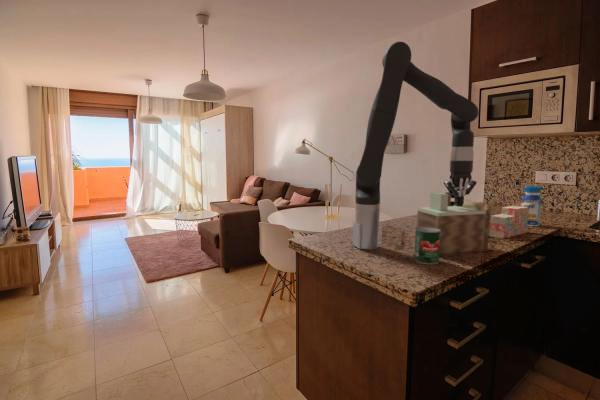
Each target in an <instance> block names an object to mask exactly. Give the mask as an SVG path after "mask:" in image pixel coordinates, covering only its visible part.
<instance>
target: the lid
mask: <svg viewBox="0 0 600 400" xmlns="http://www.w3.org/2000/svg"><path fill="white" fill-rule="evenodd" d="M418 211H420V212H424V213H428V214H431V215H435V216H453V215H472V214H486V210H483V211H480V210H475V209H470V208H465V207H458V206H448V194H445V193H442V192H430V193H429V206H424V207H417V212H418Z"/></svg>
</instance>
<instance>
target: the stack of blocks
mask: <svg viewBox="0 0 600 400" xmlns="http://www.w3.org/2000/svg"><path fill="white" fill-rule="evenodd" d="M528 212H529V207H523V206H521V205H508V206H502V207H501V213H499V214H495V215H494V214H493V215H490V225H489V237H494V238H498V239H499V238H500V239H507V238H511V236H512V237H515V236H519V235H523V234H526V233H527V232H528V226H527V222H528Z"/></svg>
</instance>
